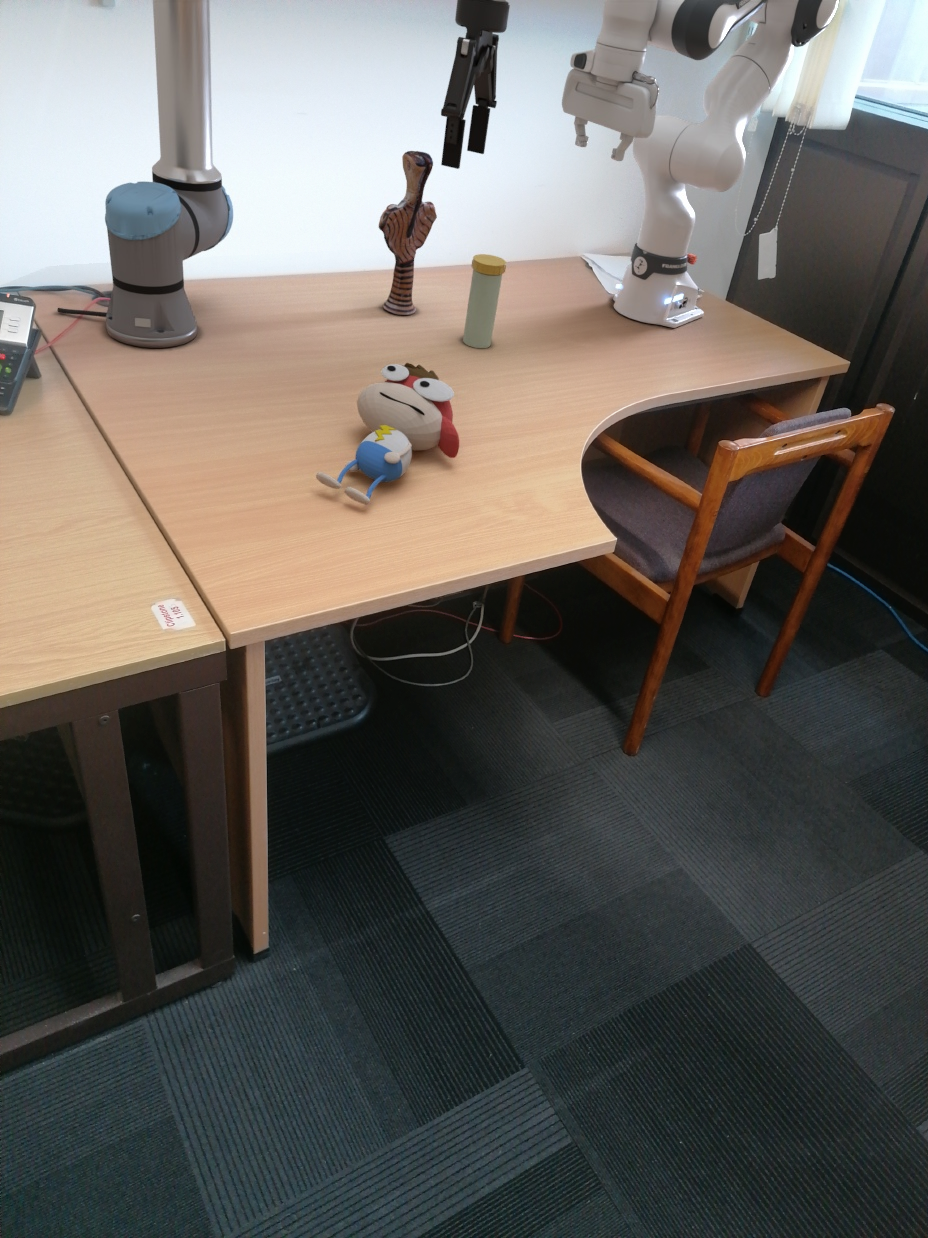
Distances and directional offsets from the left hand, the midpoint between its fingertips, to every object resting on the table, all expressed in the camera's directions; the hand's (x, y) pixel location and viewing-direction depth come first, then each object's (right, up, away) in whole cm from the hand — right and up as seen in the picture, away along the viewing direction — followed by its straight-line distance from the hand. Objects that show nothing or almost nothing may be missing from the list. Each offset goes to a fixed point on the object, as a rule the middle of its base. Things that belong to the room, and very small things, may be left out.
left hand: (463, 159), depth 139 cm
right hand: (+25, +14, +24) cm, 37 cm away
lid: (+5, -5, +27) cm, 28 cm away
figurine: (-13, -8, +44) cm, 47 cm away
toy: (-11, -48, -5) cm, 50 cm away
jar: (+3, -17, +36) cm, 41 cm away
